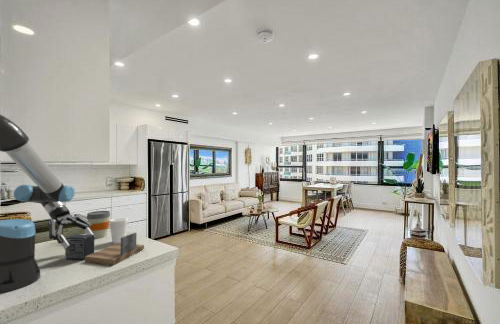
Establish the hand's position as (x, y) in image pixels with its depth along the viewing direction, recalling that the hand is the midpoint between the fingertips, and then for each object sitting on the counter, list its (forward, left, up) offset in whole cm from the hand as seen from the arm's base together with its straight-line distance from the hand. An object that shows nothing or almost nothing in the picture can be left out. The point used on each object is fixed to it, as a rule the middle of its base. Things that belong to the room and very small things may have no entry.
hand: (81, 242), depth 115 cm
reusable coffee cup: (+29, +20, -7) cm, 36 cm away
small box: (-1, -1, -7) cm, 7 cm away
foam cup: (+23, -1, -7) cm, 24 cm away
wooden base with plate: (+5, -17, -7) cm, 19 cm away
